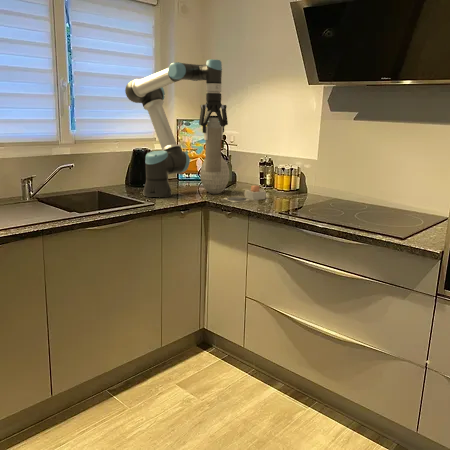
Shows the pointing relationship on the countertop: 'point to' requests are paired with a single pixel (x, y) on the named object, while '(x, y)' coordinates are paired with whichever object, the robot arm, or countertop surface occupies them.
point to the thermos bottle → (213, 146)
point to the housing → (255, 195)
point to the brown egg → (255, 188)
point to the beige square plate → (236, 199)
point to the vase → (215, 178)
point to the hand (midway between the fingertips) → (213, 139)
